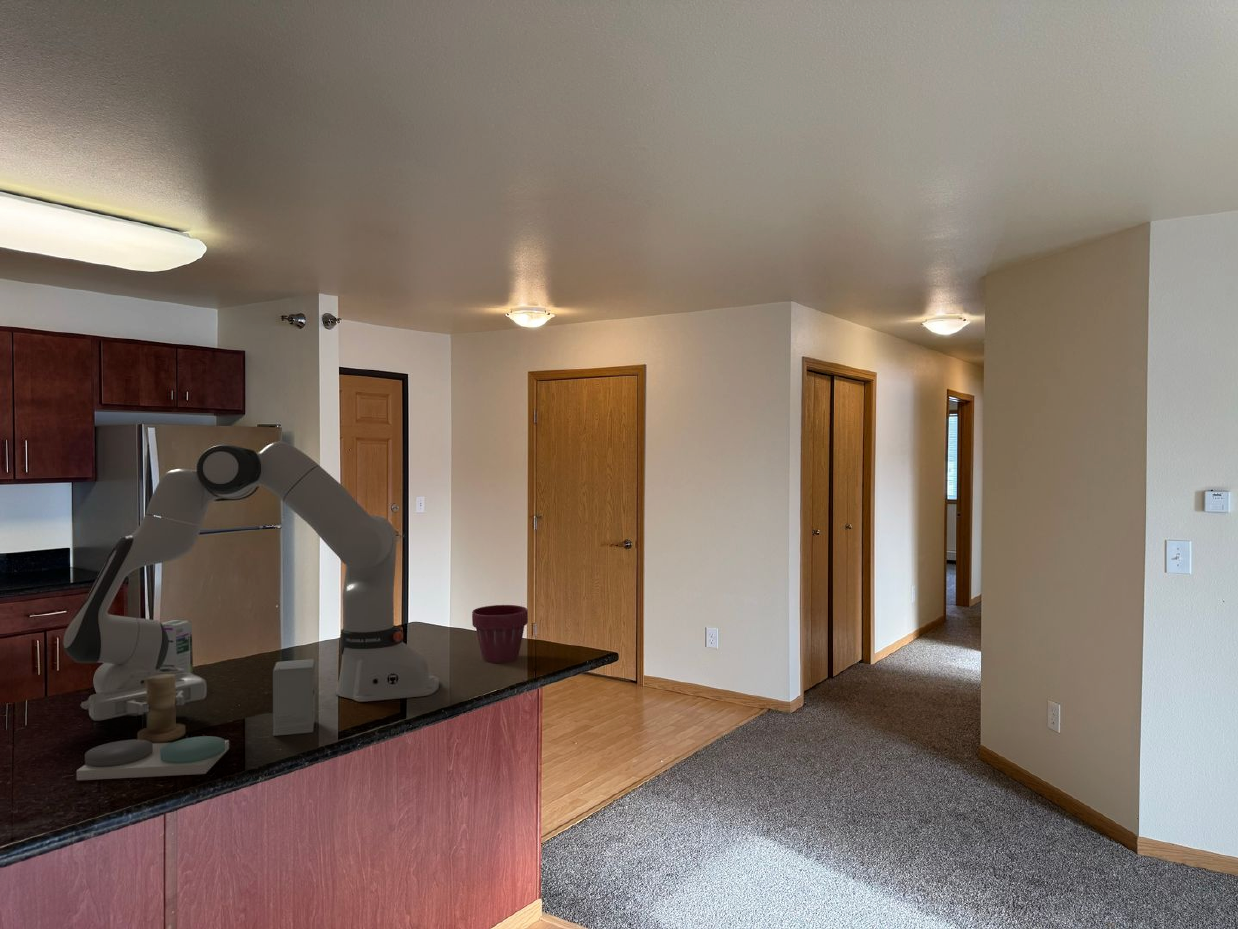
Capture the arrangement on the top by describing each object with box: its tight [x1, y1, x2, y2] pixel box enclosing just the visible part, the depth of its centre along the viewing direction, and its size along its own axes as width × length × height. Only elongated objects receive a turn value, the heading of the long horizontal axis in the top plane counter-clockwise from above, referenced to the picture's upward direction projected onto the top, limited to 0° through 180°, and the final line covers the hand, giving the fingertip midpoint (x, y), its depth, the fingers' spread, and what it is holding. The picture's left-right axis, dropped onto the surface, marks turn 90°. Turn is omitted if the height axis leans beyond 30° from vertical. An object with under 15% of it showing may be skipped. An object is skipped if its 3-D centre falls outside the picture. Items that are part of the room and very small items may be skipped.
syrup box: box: [160, 619, 194, 674], centre depth 196 cm, size 6×6×14 cm
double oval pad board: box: [76, 735, 230, 781], centre depth 145 cm, size 22×12×3 cm, turn 97°
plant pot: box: [471, 604, 529, 664], centre depth 218 cm, size 14×14×13 cm
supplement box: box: [272, 658, 316, 737], centre depth 164 cm, size 7×7×13 cm
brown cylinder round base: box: [136, 674, 186, 744], centre depth 159 cm, size 8×8×11 cm
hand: (162, 705), depth 159 cm, fingers closed on brown cylinder round base, 5 cm apart
